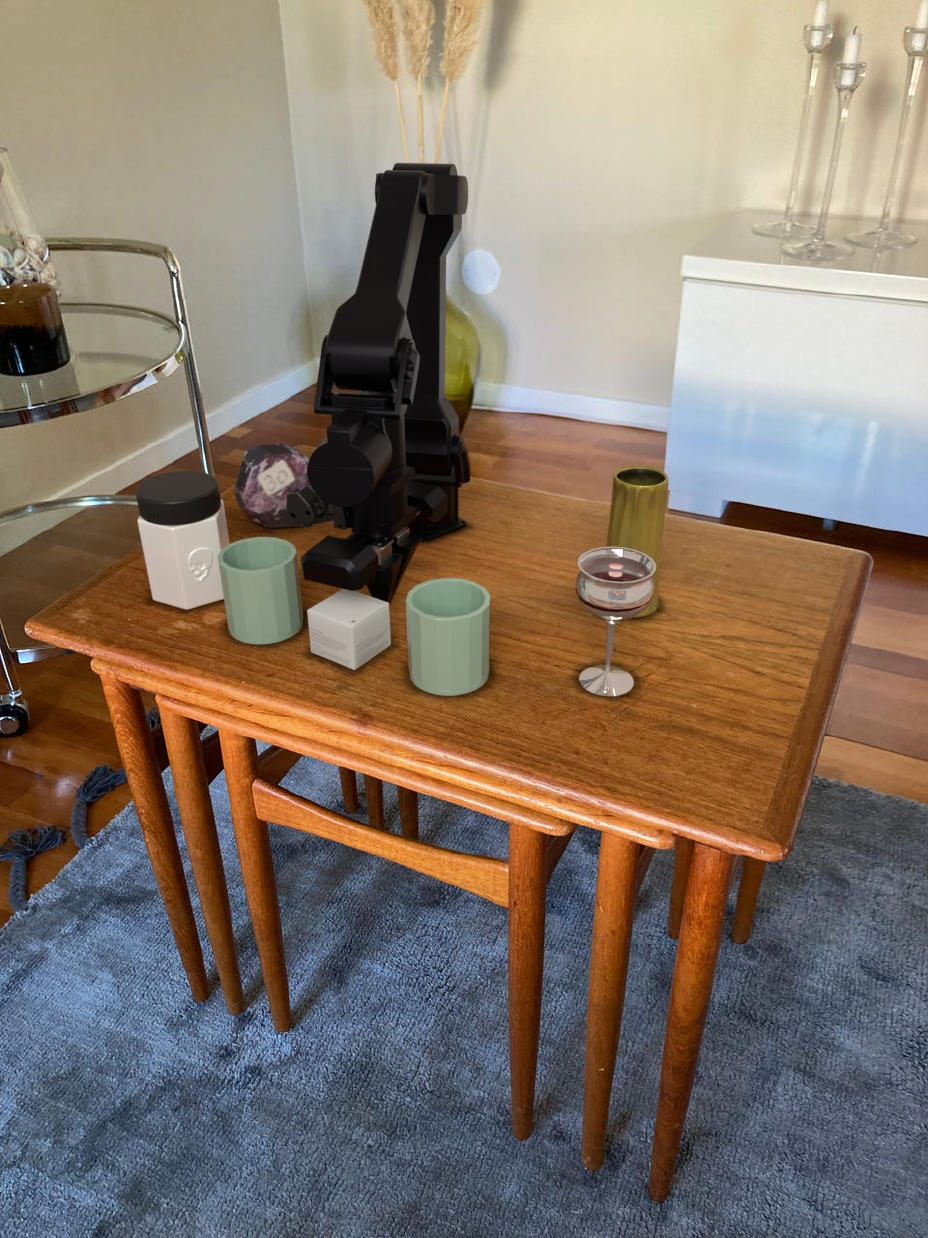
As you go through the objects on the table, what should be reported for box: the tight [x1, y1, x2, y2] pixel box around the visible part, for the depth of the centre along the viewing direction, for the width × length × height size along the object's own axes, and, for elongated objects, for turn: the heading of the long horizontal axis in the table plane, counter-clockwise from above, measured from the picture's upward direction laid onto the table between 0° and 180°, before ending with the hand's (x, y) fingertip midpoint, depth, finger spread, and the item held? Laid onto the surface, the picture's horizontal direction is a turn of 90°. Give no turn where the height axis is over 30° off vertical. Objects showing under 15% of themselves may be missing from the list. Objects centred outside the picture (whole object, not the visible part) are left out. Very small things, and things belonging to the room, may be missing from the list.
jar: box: [134, 470, 230, 611], centre depth 99 cm, size 9×8×12 cm
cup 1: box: [217, 536, 304, 645], centre depth 94 cm, size 7×7×8 cm
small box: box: [306, 588, 392, 671], centre depth 91 cm, size 6×6×5 cm
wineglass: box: [574, 546, 656, 697], centre depth 85 cm, size 7×7×12 cm
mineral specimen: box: [233, 443, 310, 529], centre depth 115 cm, size 10×10×10 cm
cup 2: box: [405, 577, 492, 697], centre depth 87 cm, size 7×7×8 cm
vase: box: [606, 465, 669, 619], centre depth 96 cm, size 6×6×14 cm
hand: (382, 607), depth 97 cm, fingers closed
